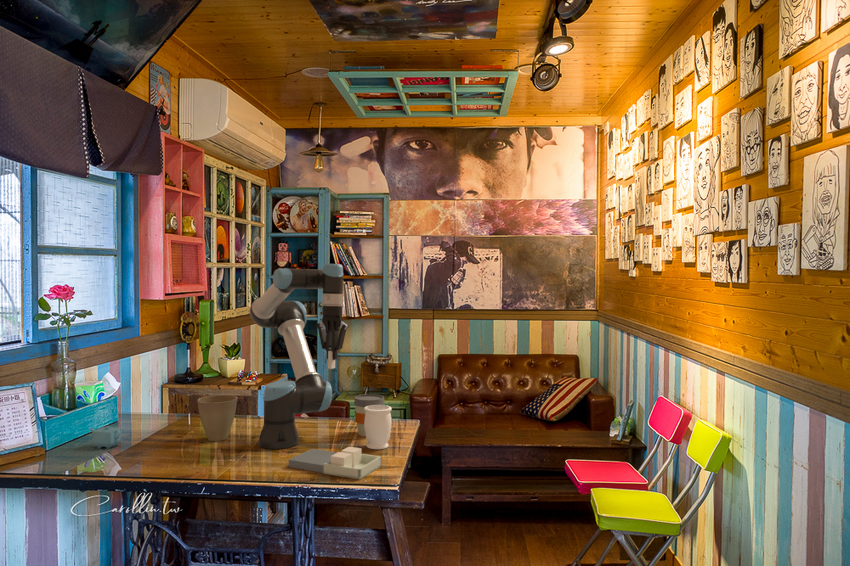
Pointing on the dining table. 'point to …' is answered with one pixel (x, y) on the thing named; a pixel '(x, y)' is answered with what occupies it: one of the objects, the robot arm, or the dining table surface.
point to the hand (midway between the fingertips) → (331, 368)
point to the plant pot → (217, 415)
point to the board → (312, 460)
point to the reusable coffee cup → (360, 412)
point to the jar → (377, 426)
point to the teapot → (106, 437)
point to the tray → (357, 472)
